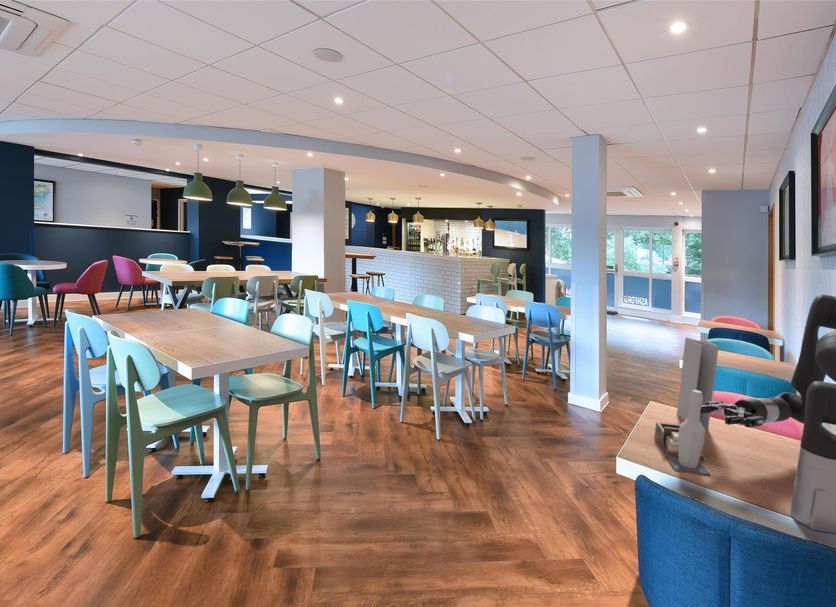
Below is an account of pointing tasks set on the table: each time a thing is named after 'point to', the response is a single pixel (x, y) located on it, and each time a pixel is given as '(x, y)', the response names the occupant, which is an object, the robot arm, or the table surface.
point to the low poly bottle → (691, 433)
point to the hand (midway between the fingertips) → (713, 415)
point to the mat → (678, 467)
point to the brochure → (697, 375)
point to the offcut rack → (669, 438)
